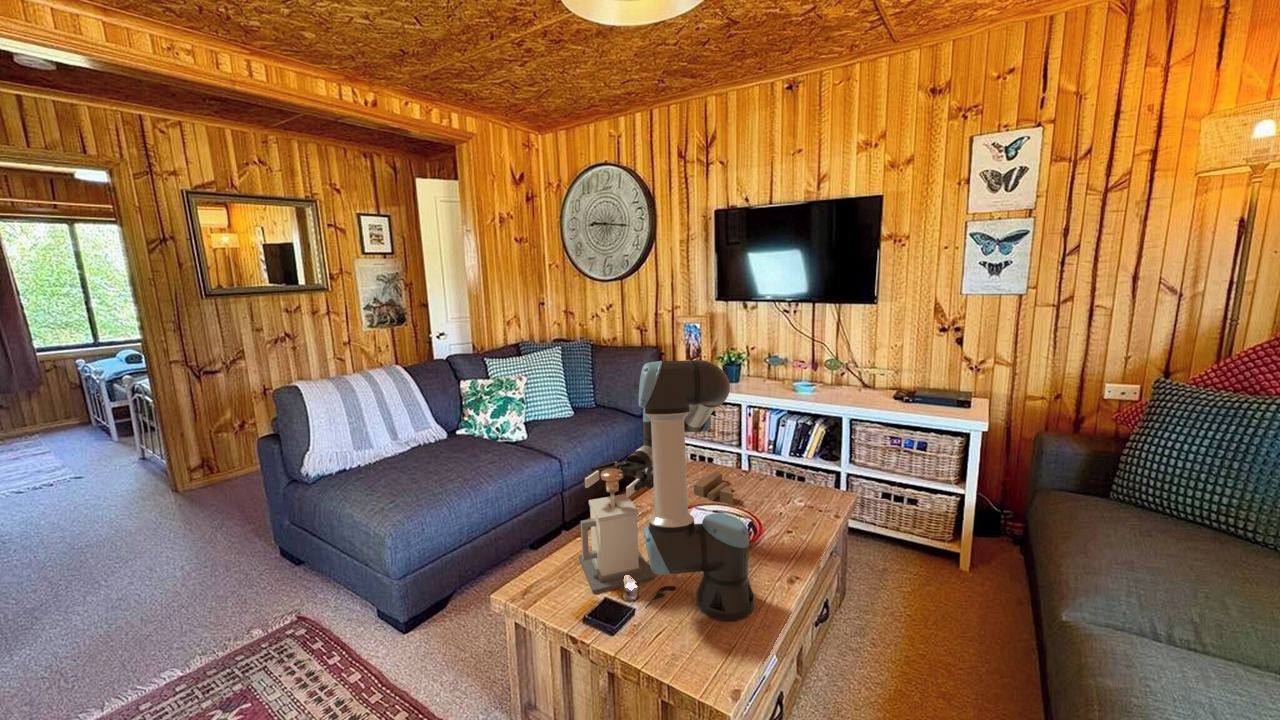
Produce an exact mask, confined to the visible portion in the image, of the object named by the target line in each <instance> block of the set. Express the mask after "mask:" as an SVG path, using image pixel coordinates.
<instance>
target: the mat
mask: <svg viewBox="0 0 1280 720" xmlns="http://www.w3.org/2000/svg"><path fill="white" fill-rule="evenodd" d="M578 560H579V564H580V566H581V568H582V570H583V573H584V575H585V577H586V579H587V582H588V585H589V587H590V591H591V593H592V594H596V593H600V592H605V591H611V590H614V589H618V588H622V587H625V586H624V582H623V579H624V577H621V578H616V579H612V580H608V581H603V582H600V581H599V579H598V576H597V574H596V572H595V570H594V567H593V565H592V563H591V561H590V560H585V561H584V560H583V558H582V554H581V555H578ZM638 564H639V565H640V567H641V569H642V573H638V574H634V575H630V576H631V577H632V578H633V579H634V580H635V581H636V582H637V583H636V584H640V583H644V582H649V581H652V580H655V575H654V572H653V571H652V570H651V568H650V567H649V565H648V564H647V562H646V561H645V559H644V557H643V556H642V554H641V552H640V551H639V550H638ZM632 578H631V579H632Z"/></svg>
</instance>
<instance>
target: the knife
mask: <svg viewBox="0 0 1280 720" xmlns="http://www.w3.org/2000/svg"><path fill="white" fill-rule="evenodd" d="M676 590H677V587H676V586H674V585H667V586H662V587H660V589H658V590H657V591H656V592H655V595H654V596H653V597H652V598H651V599H650V601H649V602H648V603H647V605H646V606H645V609H648V606H650V604H651V603H652V602H653V601H655V600H659V599H662V598H664V597H666V594H665V593H664V592H665V591H671V592H672V591H673V592H674V591H676Z"/></svg>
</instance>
